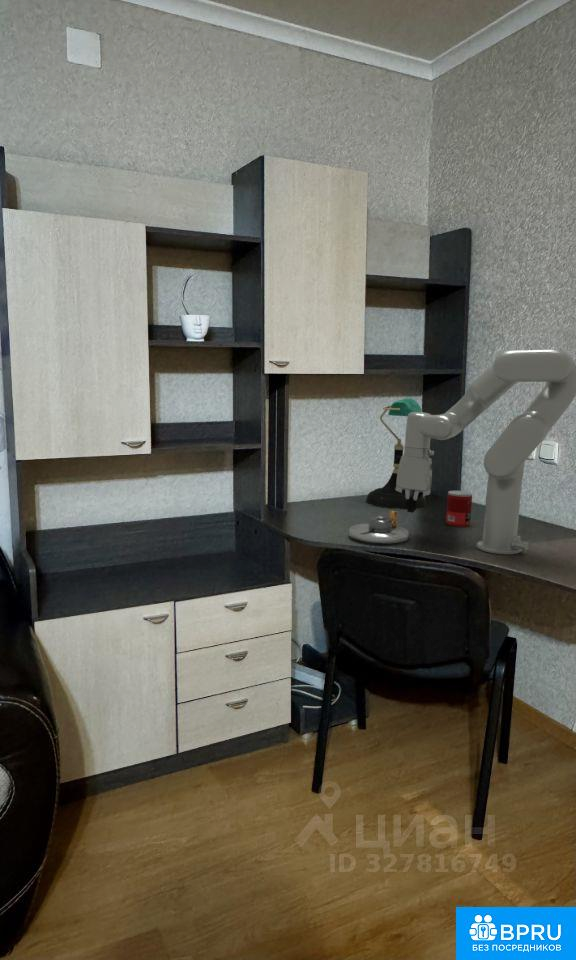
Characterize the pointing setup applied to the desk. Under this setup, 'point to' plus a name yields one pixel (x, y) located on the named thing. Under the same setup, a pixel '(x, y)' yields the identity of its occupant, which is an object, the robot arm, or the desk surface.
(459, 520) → the canned food
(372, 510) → the desk surface
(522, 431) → the robot arm
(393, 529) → the turntable
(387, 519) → the cover
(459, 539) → the desk surface
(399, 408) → the banker's lamp
